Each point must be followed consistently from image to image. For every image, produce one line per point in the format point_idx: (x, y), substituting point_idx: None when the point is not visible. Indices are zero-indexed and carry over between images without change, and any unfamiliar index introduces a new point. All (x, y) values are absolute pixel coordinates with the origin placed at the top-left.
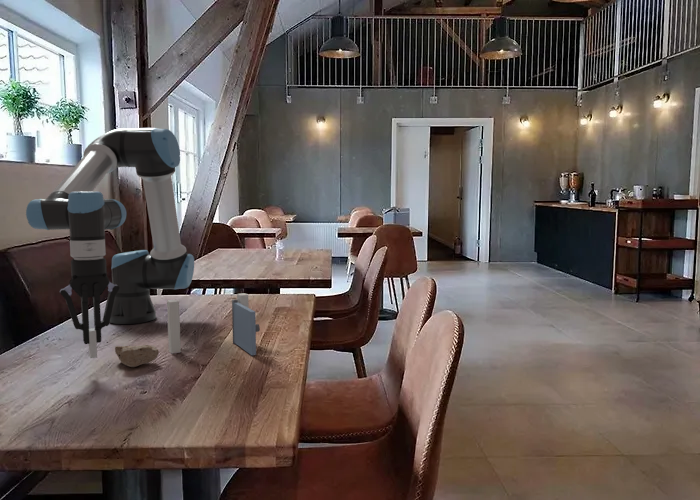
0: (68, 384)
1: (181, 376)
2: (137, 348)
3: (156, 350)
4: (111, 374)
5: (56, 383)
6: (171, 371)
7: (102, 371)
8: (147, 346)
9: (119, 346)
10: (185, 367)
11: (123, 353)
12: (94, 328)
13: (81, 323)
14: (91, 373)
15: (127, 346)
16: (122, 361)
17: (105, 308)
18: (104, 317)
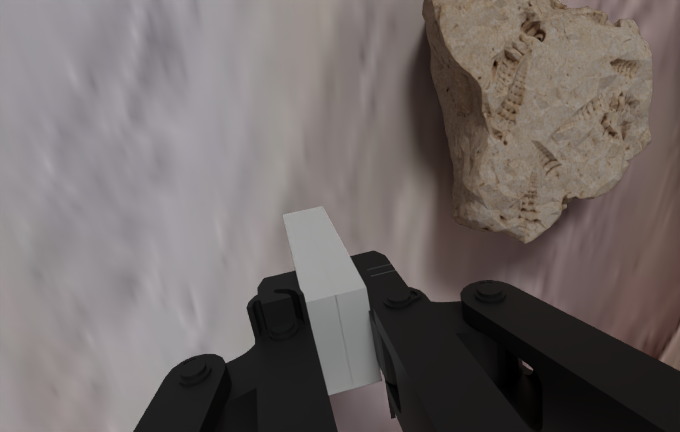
0: (199, 325)
1: (619, 328)
2: (561, 185)
3: (638, 153)
4: (377, 231)
5: (137, 299)
6: (605, 259)
7: (334, 168)
8: (618, 148)
9: (467, 42)
10: (665, 220)
11: (475, 225)
12: (365, 302)
13: (251, 390)
14: (283, 186)
15: (515, 76)
16: (440, 91)
17: (616, 429)
18: (514, 346)
